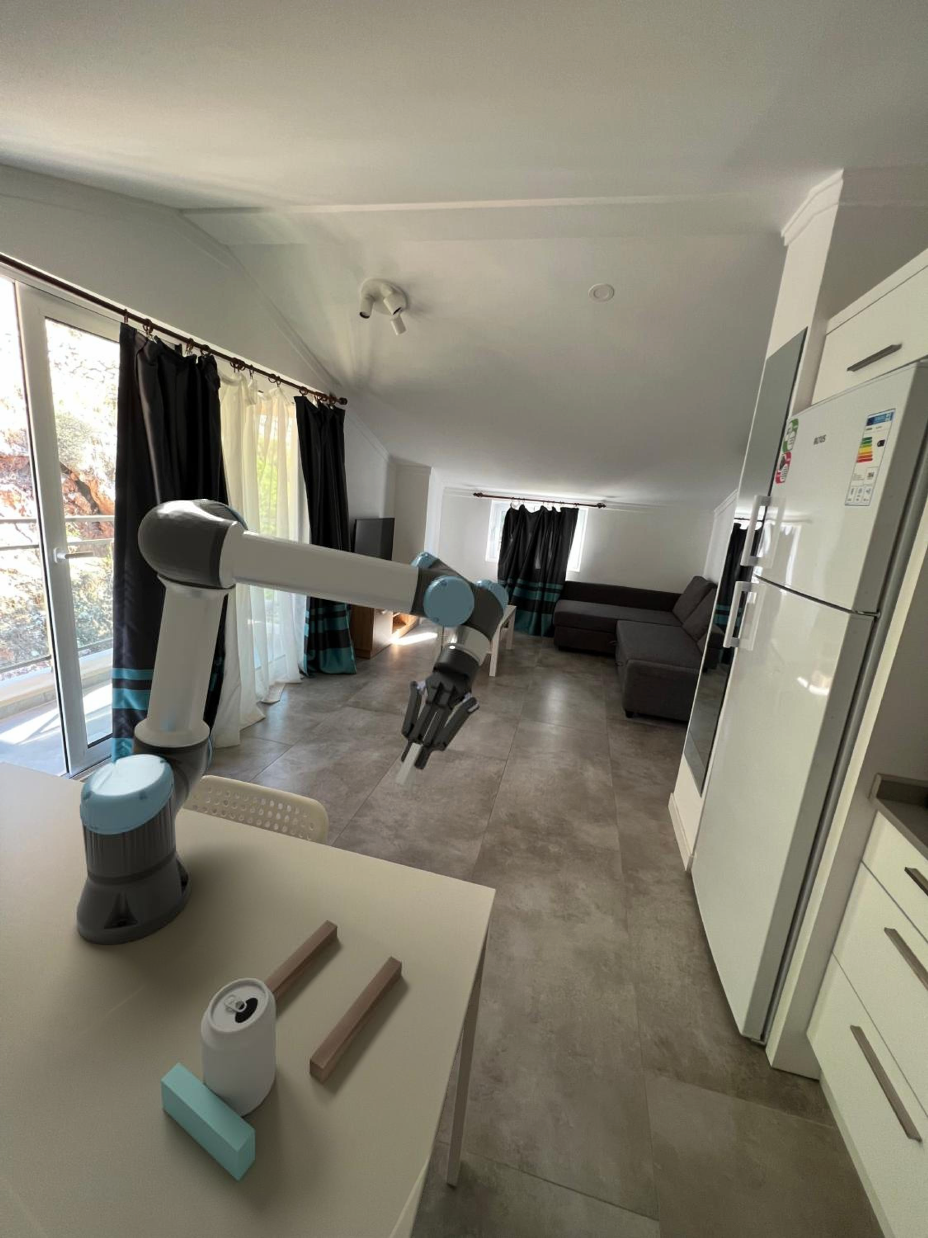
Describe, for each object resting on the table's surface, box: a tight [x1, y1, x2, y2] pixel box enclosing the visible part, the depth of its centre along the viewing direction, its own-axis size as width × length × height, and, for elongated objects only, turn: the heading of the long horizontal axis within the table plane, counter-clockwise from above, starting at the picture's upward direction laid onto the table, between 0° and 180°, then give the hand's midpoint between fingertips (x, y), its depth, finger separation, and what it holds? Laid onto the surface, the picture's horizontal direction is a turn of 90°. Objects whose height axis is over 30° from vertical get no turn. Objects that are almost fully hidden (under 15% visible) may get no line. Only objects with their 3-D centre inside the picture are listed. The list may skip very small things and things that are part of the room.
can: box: [200, 977, 277, 1118], centre depth 56 cm, size 8×8×12 cm
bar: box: [160, 1062, 256, 1182], centre depth 52 cm, size 12×2×4 cm, turn 63°
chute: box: [263, 919, 403, 1084], centre depth 67 cm, size 14×16×2 cm
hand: (401, 785), depth 76 cm, fingers closed
